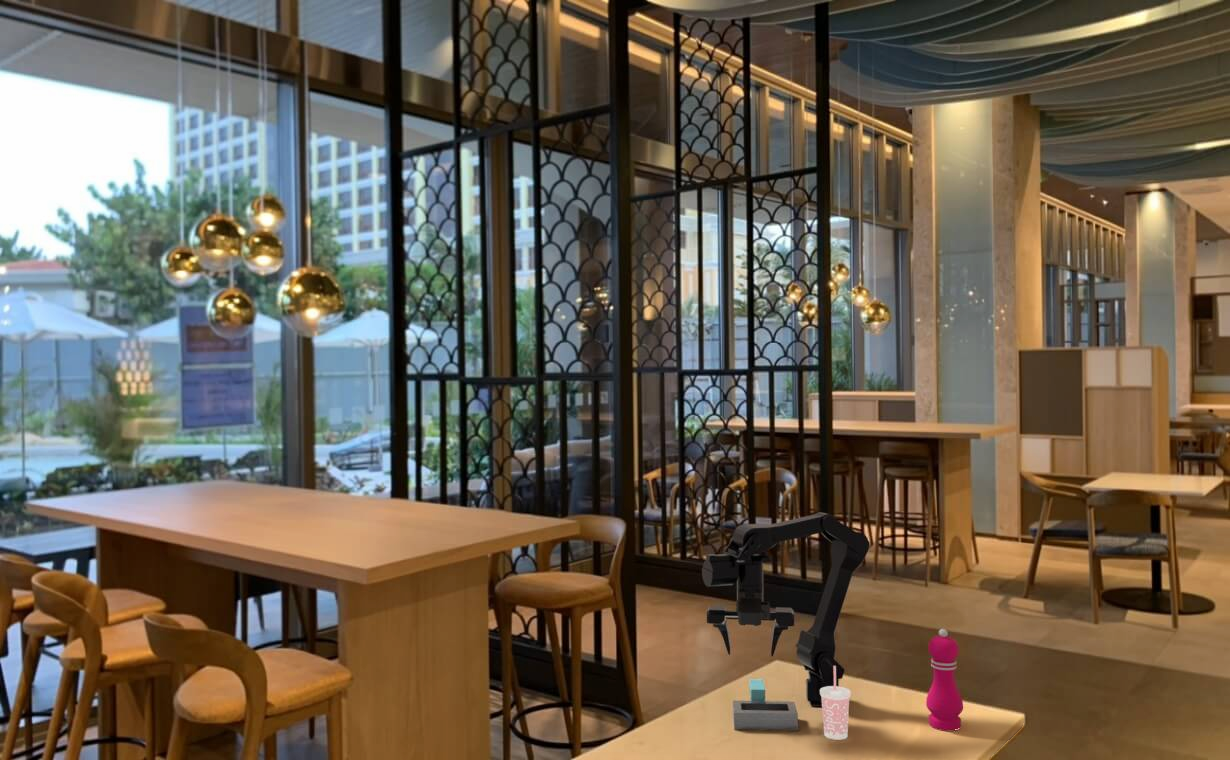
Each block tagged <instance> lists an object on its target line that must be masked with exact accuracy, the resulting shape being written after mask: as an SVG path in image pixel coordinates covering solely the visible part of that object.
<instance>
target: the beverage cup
mask: <svg viewBox="0 0 1230 760" xmlns="http://www.w3.org/2000/svg"><path fill="white" fill-rule="evenodd" d="M833 667H834V686H827V687H823V688H821V689H820V695H821V699H822V706H821V707H822V708H821V709H822V711H821V712H822V721H823V722H822V724H823V735H824V736H826V737H825V738H827V739H830V740H836V741H837V740H838V741H841V740H846V739H847V738H848V736H849V735H848V731H849V709H850V698H851V690H850V689H849V688H846V687H842V686H839V687H838V686H836V666H833Z"/></svg>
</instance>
